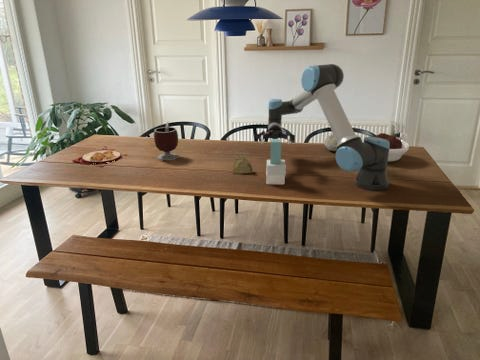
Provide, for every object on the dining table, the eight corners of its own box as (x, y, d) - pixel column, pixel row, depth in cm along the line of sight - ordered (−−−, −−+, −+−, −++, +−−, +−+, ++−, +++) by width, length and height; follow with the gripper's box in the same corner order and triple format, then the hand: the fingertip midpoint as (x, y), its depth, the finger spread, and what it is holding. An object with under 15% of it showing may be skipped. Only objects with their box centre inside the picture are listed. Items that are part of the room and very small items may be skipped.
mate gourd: (177, 161, 223) (174, 127, 215) (153, 161, 223) (150, 127, 216) (181, 153, 237) (179, 121, 230) (159, 153, 237) (156, 121, 230)
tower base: (284, 178, 195) (284, 168, 193) (284, 184, 187) (284, 175, 185) (266, 177, 196) (266, 168, 194) (266, 184, 188) (266, 174, 186)
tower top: (284, 169, 193) (284, 159, 191) (285, 175, 185) (285, 165, 183) (266, 169, 194) (266, 159, 192) (267, 175, 185) (267, 165, 183)
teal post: (280, 160, 190) (281, 139, 186) (280, 164, 185) (281, 142, 181) (270, 160, 190) (271, 139, 186) (270, 163, 186) (270, 142, 182)
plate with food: (71, 163, 224) (70, 157, 223) (104, 150, 245) (103, 145, 244) (101, 169, 214) (101, 163, 213) (132, 155, 235) (132, 150, 234)
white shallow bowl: (399, 152, 231) (403, 128, 226) (412, 166, 208) (417, 139, 203) (357, 152, 234) (360, 128, 228) (365, 165, 211) (368, 139, 205)
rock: (257, 166, 205) (241, 161, 210) (254, 157, 198) (238, 152, 202) (248, 182, 201) (232, 176, 205) (245, 173, 194) (228, 168, 198)
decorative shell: (346, 156, 226) (347, 140, 223) (318, 151, 237) (319, 135, 233) (357, 149, 240) (359, 133, 236) (331, 144, 250) (332, 130, 246)
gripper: (297, 137, 211) (300, 148, 191) (252, 137, 213) (250, 148, 193) (297, 124, 208) (300, 134, 189) (252, 124, 210) (250, 134, 190)
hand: (275, 141), depth 191 cm, fingers open, 13 cm apart
